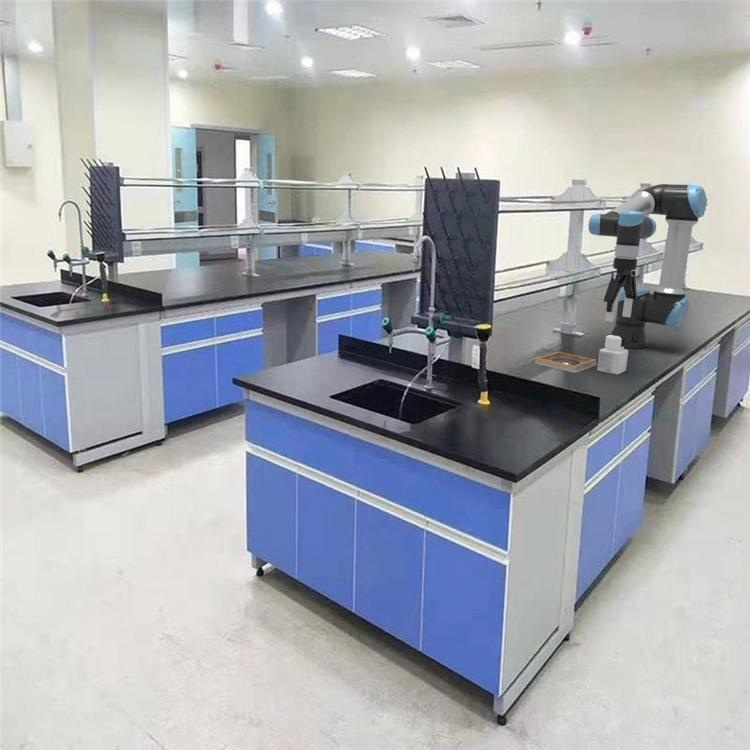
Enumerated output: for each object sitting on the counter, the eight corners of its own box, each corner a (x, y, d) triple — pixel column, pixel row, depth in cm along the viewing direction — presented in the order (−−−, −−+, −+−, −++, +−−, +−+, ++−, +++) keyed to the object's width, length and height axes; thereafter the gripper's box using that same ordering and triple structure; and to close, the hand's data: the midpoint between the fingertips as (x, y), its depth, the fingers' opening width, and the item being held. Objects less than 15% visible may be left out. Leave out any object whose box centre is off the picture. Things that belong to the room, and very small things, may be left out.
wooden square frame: (557, 357, 266) (557, 351, 265) (596, 365, 255) (597, 359, 255) (534, 363, 255) (535, 357, 254) (574, 373, 244) (575, 366, 244)
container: (604, 366, 254) (609, 331, 251) (626, 370, 250) (630, 335, 246) (596, 370, 249) (601, 334, 245) (617, 375, 244) (622, 338, 240)
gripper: (631, 254, 249) (623, 313, 255) (598, 258, 232) (590, 321, 238) (651, 256, 245) (643, 316, 250) (620, 260, 227) (611, 325, 233)
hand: (617, 319), depth 244 cm, fingers open, 13 cm apart
